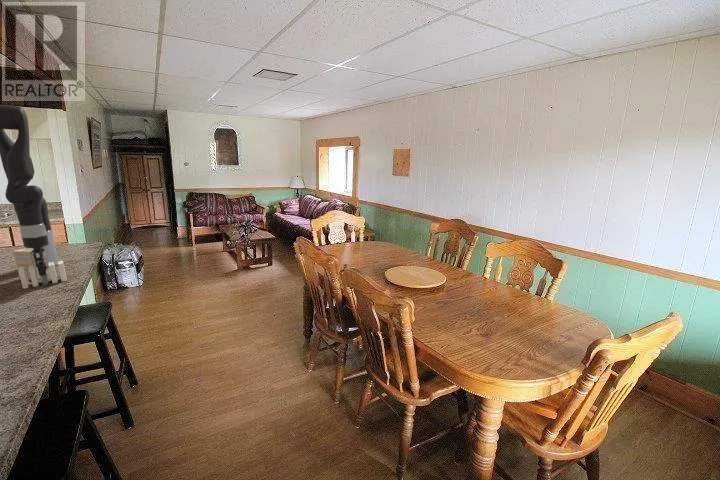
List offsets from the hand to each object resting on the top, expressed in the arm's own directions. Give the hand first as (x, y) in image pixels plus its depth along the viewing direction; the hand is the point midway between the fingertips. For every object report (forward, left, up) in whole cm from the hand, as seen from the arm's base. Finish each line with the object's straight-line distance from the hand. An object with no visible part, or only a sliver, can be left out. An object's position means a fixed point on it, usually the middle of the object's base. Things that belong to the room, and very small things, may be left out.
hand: (43, 272), depth 142 cm
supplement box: (-10, -4, -5) cm, 12 cm away
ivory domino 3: (0, +3, -5) cm, 5 cm away
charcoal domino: (0, 0, -5) cm, 5 cm away
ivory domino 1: (0, -6, -5) cm, 8 cm away
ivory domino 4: (0, +6, -5) cm, 8 cm away
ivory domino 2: (0, -3, -5) cm, 5 cm away
